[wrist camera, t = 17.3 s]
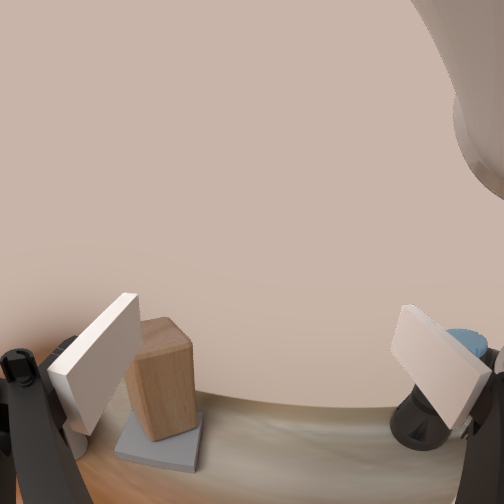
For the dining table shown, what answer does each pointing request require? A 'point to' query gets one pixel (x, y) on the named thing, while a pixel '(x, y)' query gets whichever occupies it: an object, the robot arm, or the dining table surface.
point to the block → (163, 381)
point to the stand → (160, 447)
